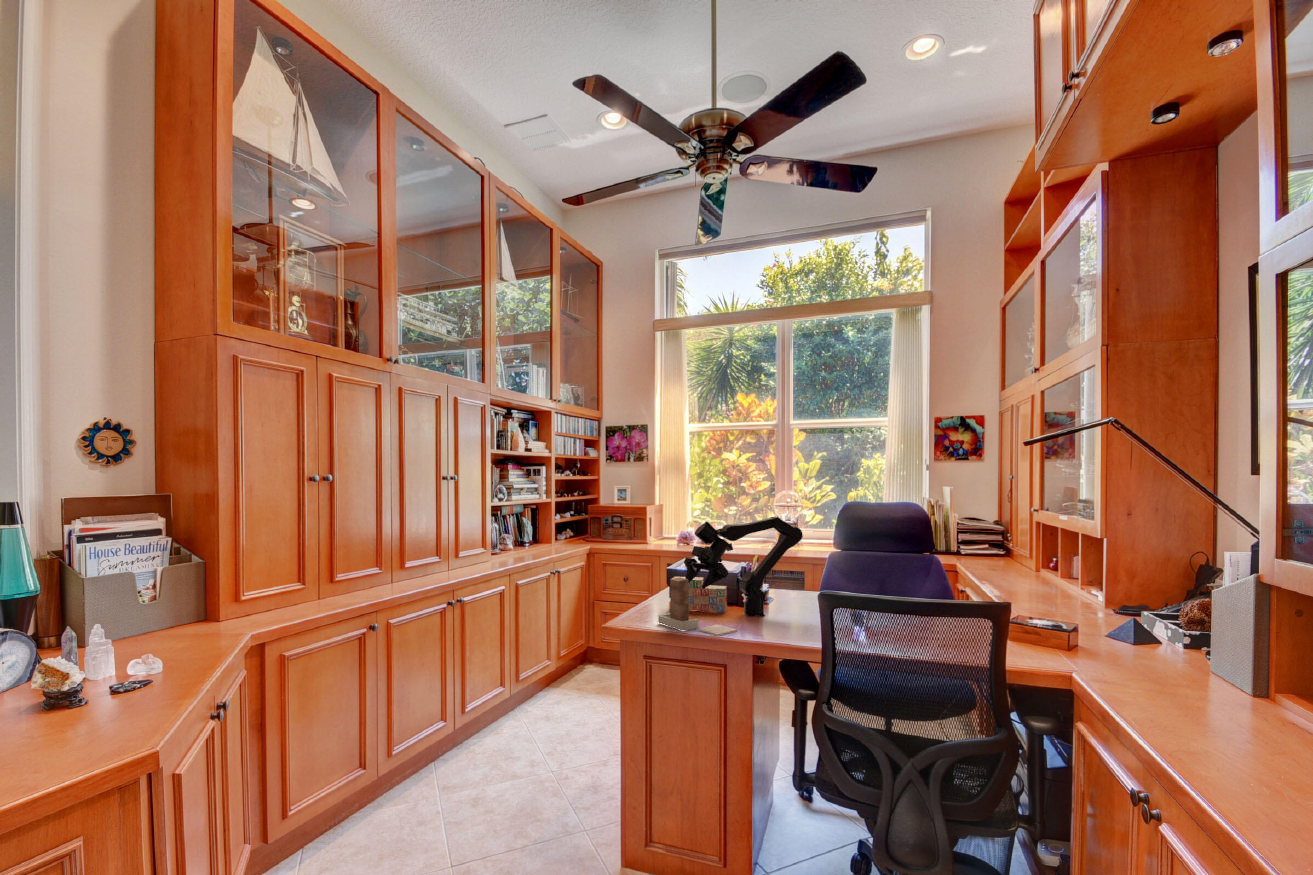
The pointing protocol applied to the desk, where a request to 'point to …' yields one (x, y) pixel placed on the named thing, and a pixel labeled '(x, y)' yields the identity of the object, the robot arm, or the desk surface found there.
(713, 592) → the stack of blocks
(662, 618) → the grey u-shaped bracket
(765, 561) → the robot arm
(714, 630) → the grey mat
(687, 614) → the walnut block
